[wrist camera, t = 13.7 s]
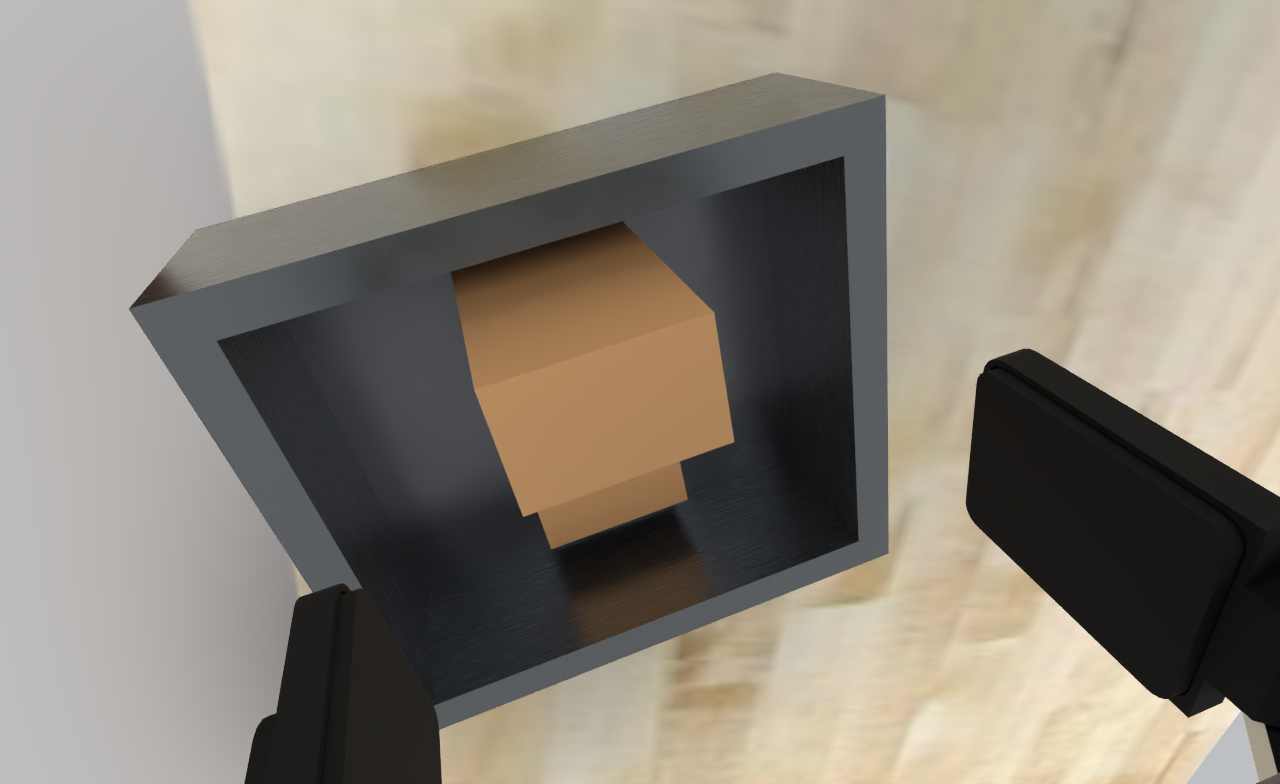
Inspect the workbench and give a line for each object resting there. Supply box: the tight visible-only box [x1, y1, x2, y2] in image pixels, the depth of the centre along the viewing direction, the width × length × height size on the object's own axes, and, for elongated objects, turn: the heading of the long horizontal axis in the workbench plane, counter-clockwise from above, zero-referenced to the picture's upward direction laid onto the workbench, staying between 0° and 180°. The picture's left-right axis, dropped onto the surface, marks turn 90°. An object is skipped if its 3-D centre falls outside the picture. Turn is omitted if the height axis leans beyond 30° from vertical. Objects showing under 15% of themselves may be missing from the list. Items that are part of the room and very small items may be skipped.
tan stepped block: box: [451, 221, 734, 549], centre depth 18 cm, size 9×4×7 cm, turn 12°
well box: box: [129, 73, 888, 730], centre depth 19 cm, size 14×15×5 cm
